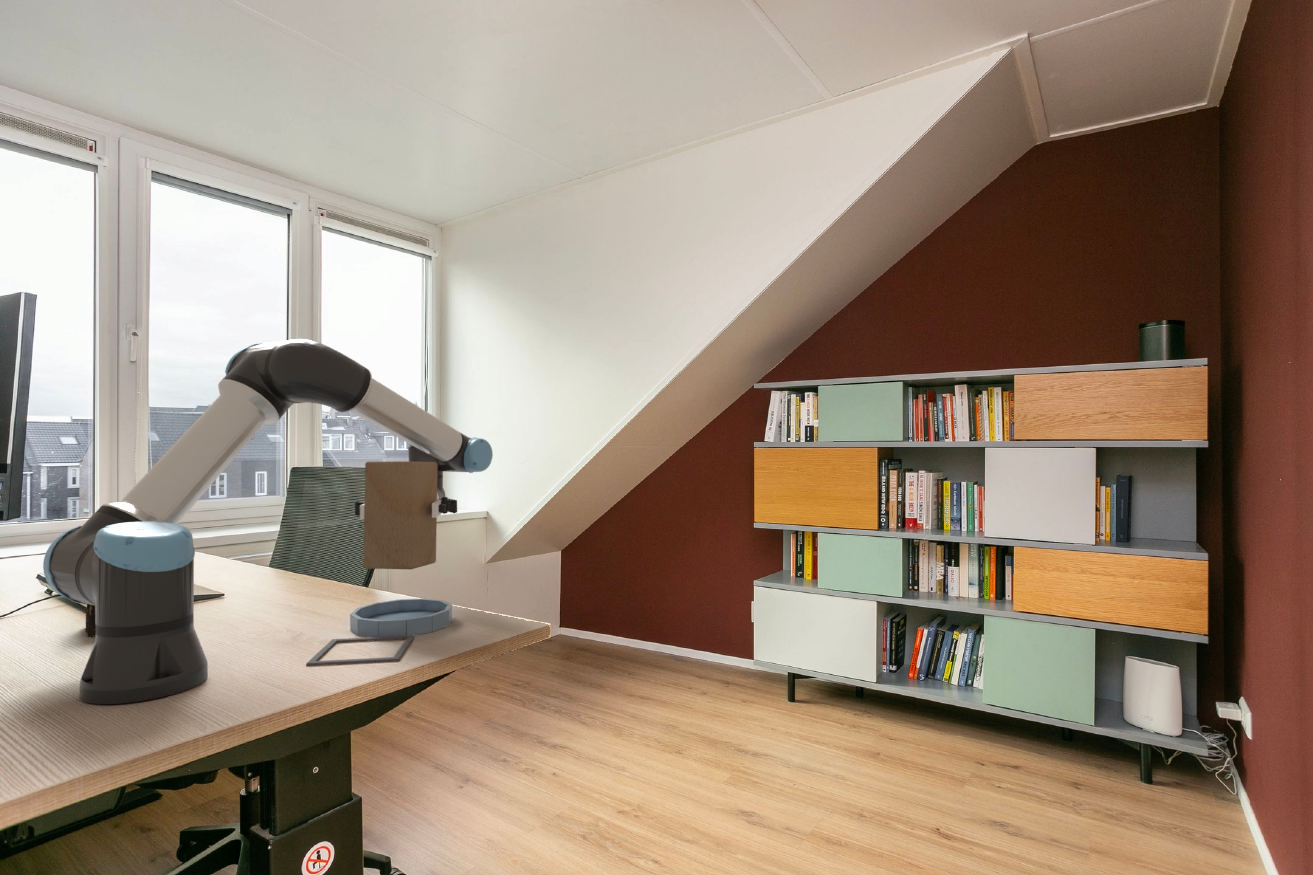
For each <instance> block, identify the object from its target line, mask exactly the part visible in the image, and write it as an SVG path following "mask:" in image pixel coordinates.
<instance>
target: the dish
mask: <svg viewBox="0 0 1313 875" xmlns="http://www.w3.org/2000/svg"><path fill="white" fill-rule="evenodd" d="M349 616H350V617H349V618H350V619H349V620H350V621H349V629H350V631H351V632H352V633H354V634H355V635H357V636H361V637H366V638H369V637H390V636H411V635H415V636H417V635H423V634H427V633H429V634H430V633H433V632H437V631H438V630H439V631H440V630H441V629H444V628H446V627H448V626H450V624H451V623H452V621H453V604H452V603H450V602H447V601H445V600H443V599H434V598H401V599H400V598H399V599H392V600H386V601H379V602H374V603H370V604H367V605H364V606H359V607H357V608H355V609H354V610H352V612H351V613H350V614H349Z"/></svg>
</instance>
